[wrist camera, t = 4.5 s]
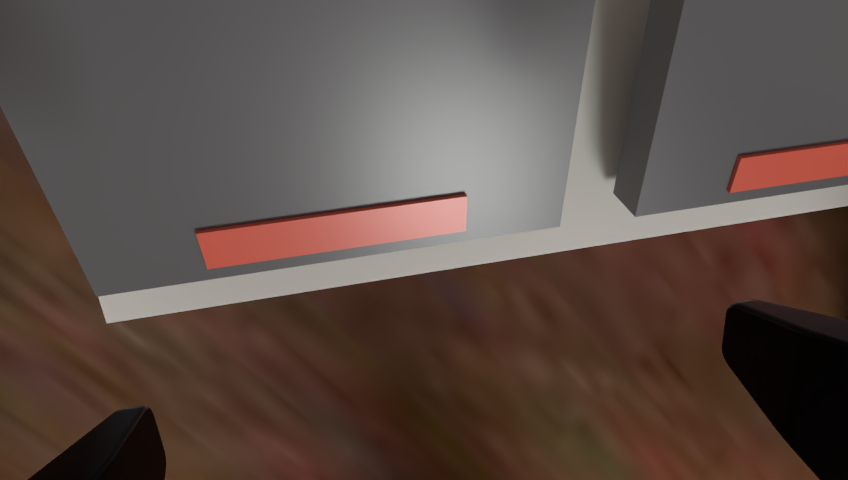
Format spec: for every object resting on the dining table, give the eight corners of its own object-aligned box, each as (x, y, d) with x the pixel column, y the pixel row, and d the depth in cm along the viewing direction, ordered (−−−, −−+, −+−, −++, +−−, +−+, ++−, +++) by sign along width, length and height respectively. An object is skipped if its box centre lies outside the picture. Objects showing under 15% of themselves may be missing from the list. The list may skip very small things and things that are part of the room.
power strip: (921, -157, 18) (1076, -202, 14) (857, 169, 21) (967, 198, 18) (24, -117, 14) (-70, -164, 10) (137, 275, 17) (96, 339, 14)
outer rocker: (580, -98, 11) (612, -87, 10) (542, 200, 16) (561, 229, 15) (-44, -61, 10) (-80, -44, 9) (107, 263, 14) (95, 300, 13)
